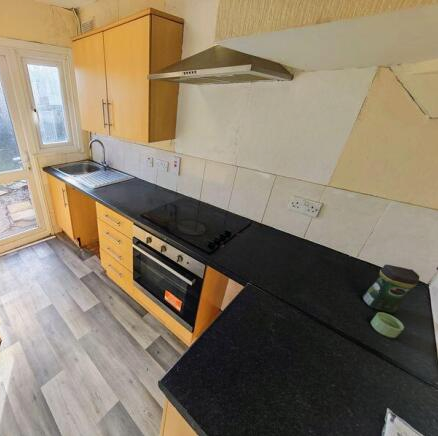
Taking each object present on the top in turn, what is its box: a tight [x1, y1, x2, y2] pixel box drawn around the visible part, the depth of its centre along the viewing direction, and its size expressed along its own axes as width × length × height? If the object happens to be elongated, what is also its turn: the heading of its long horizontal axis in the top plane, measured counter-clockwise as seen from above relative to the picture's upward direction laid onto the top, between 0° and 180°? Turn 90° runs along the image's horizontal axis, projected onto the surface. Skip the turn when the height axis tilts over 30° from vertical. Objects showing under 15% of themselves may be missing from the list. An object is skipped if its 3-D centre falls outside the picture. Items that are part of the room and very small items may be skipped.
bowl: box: [370, 311, 405, 339], centre depth 80 cm, size 7×7×5 cm
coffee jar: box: [362, 264, 420, 314], centre depth 87 cm, size 10×8×19 cm
